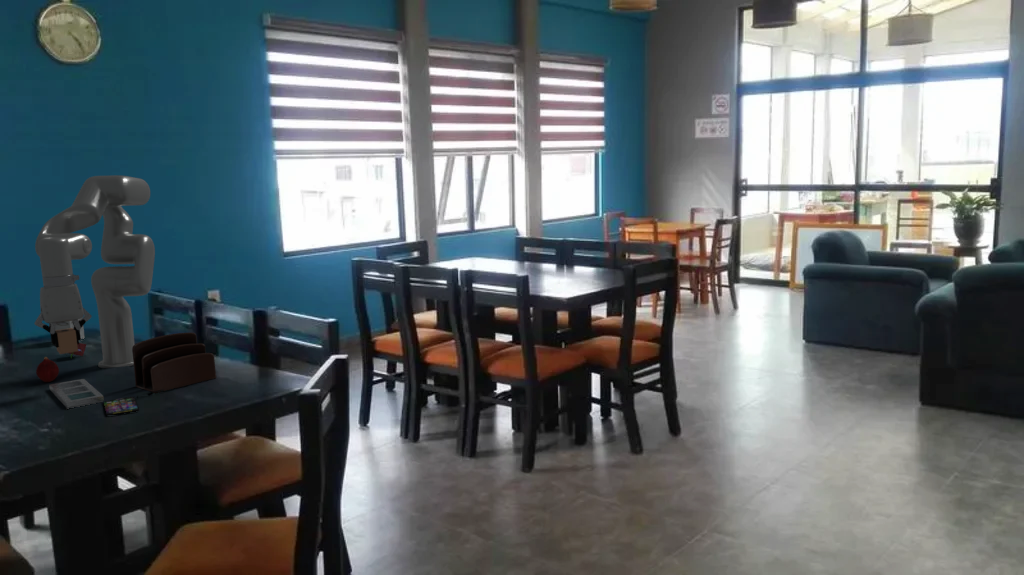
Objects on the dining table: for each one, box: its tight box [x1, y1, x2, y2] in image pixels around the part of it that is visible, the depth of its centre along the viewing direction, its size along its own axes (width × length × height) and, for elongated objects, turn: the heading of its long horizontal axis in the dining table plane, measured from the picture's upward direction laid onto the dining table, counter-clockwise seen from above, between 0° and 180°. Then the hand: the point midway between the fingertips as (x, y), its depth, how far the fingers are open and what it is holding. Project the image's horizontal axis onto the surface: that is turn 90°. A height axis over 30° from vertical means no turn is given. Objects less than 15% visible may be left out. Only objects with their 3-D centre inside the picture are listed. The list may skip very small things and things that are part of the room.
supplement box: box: [55, 316, 85, 340], centre depth 302 cm, size 7×7×13 cm
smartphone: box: [103, 396, 140, 416], centre depth 218 cm, size 8×1×15 cm
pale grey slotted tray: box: [49, 378, 105, 410], centre depth 229 cm, size 9×24×2 cm, turn 38°
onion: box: [35, 356, 60, 383], centre depth 244 cm, size 6×6×8 cm
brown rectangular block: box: [55, 328, 78, 355], centre depth 233 cm, size 4×4×6 cm
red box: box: [63, 342, 88, 359], centre depth 277 cm, size 7×7×8 cm
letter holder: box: [132, 332, 217, 394], centre depth 240 cm, size 10×20×14 cm, turn 142°
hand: (66, 344), depth 233 cm, fingers closed on brown rectangular block, 4 cm apart
